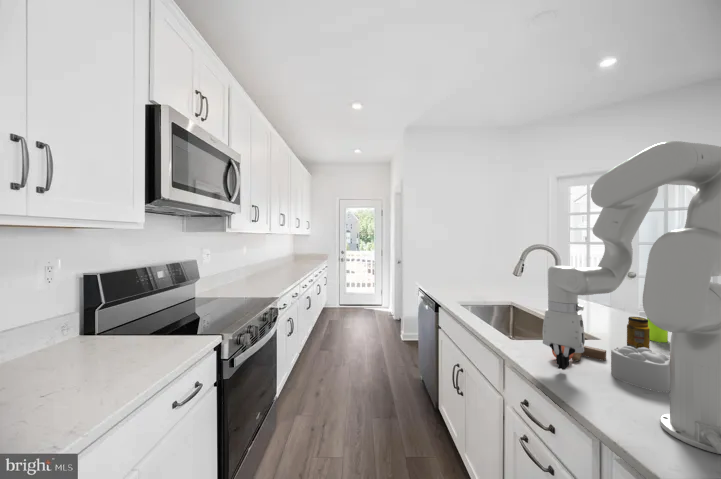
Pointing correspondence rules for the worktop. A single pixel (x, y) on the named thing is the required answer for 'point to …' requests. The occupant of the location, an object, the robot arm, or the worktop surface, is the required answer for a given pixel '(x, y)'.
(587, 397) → the worktop surface
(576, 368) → the worktop surface
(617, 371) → the paw print mold
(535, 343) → the worktop surface
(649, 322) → the soap dispenser
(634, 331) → the condiment
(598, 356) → the wall
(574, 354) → the pin
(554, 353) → the ball
